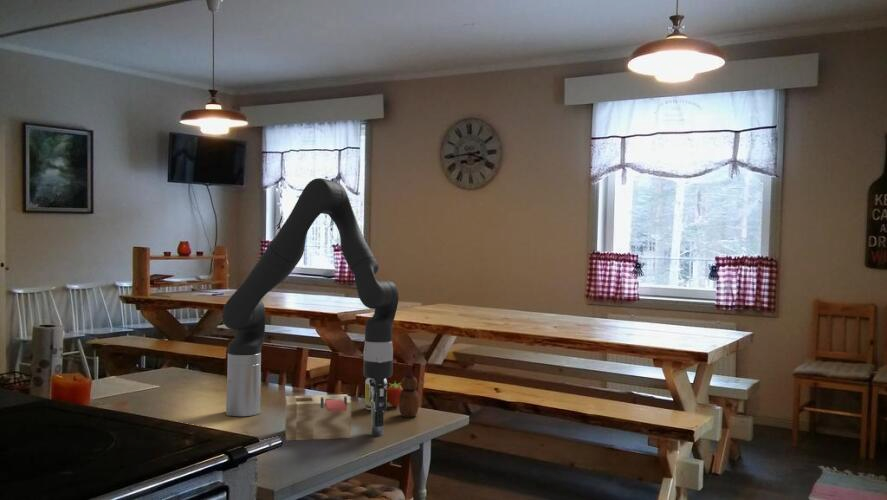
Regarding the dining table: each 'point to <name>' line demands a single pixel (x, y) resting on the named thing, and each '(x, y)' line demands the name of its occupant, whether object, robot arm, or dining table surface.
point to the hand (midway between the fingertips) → (377, 423)
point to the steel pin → (374, 430)
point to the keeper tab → (335, 405)
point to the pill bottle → (367, 391)
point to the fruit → (394, 394)
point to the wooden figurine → (408, 395)
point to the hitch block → (316, 418)
